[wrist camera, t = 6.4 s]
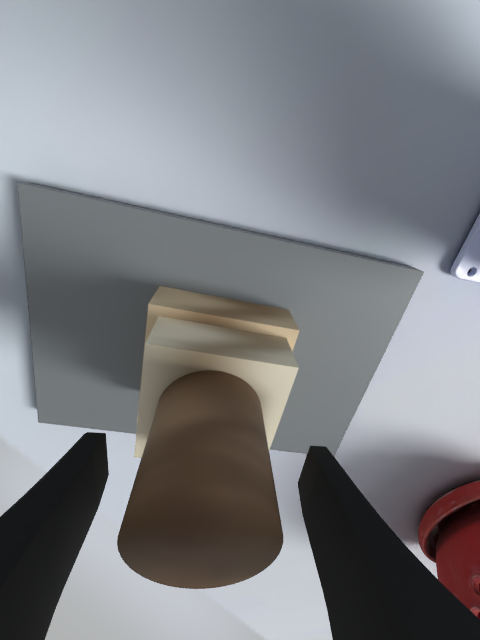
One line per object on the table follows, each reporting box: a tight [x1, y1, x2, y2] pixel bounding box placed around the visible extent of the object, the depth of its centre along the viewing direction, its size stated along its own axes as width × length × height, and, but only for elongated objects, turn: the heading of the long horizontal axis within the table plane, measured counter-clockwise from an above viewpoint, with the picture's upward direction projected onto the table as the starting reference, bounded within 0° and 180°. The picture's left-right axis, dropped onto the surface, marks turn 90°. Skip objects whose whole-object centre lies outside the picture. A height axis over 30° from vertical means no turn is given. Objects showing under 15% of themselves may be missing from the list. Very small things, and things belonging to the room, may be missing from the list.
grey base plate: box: [18, 183, 424, 456], centre depth 17 cm, size 20×14×1 cm
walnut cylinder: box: [117, 370, 283, 589], centre depth 10 cm, size 4×4×5 cm
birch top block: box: [134, 316, 299, 458], centre depth 14 cm, size 6×6×2 cm
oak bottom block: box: [137, 286, 300, 423], centre depth 16 cm, size 7×7×2 cm
